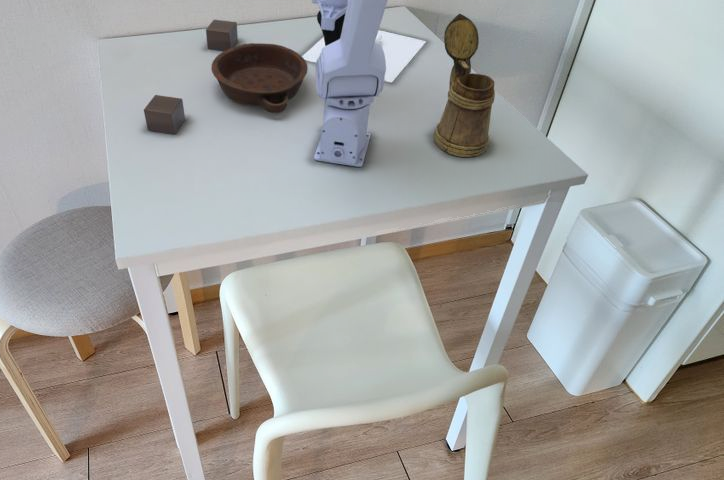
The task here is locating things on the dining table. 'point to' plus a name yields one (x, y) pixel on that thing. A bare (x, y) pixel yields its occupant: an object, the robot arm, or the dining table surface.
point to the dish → (260, 74)
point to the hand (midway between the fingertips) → (333, 53)
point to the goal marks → (170, 110)
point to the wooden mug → (465, 95)
